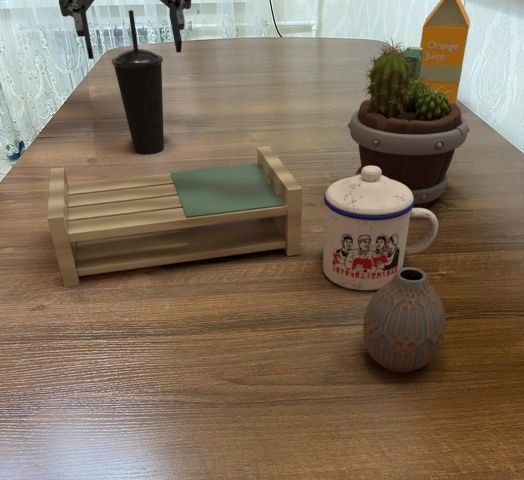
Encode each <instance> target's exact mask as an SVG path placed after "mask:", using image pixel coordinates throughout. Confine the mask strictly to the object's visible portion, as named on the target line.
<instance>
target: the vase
mask: <svg viewBox="0 0 524 480" xmlns="http://www.w3.org/2000/svg"><path fill="white" fill-rule="evenodd" d="M362 321H363V323H362V337H363V341H364V342H363V343H364V346H365V348H366V350H367V352H368V354H369V356H370V357H371V358H372V359H373V360H374V361H375V363H377V364H378V365H380V366H381V367H382V368H384V369H386V370H388V371H391V372H395V373H410V372H413V371H416V370H418V369H422V368H423V367H425V366H426V365H428V364H429V363H430V362H431V361H432V360H433V359H434V358H435V356H436V355H437V353H438V352H439V350H440V348H441V346H442V344H443V340H444V339H445V338H444V337H445V333H446V326H447V323H446V322H447V321H446V313H445V309H444V305H443V302H442V300H441V298H440V297H439V295H438V293H437V292H436V291H435V289H434V288H433V287H432V285H431V284H430V282H429V279H428V275H427V273H426V272H425V271H424V270H423V269H421V268H418V267H412V266H406V267H403V268H401V269H399V270H398V271H397V273H396V274H395V276H394V277H393V278H392V279H391V280H390V281H389V282H388V283H386V284H385V285H384V286H383V287H382V288H380V289H377V290H376V292H375V293H374V294H373V295H372V297H371V298H370V301H369V302H368V304H367V306H366V309H365V312H364V316H363V320H362Z"/></svg>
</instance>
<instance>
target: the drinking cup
mask: <svg viewBox="0 0 524 480" xmlns="http://www.w3.org/2000/svg"><path fill="white" fill-rule="evenodd" d="M128 18H129V19H128V20H129V26H130V33H131V41H132V47H133V49H127V50H125V51H122V52H121V53H119V54H118V55H117V56H115V57H113V58H112V59H111V60H110V61H111V65H112V66H113V68H114V71H115V75H116V76H115V77H116V79H117V84H118V87H119V92H120V96H121V100H122V103H123V109H124V112H125V113H124V114H125V117H126V121H127V126H128V129H129V133H130V138H131V142H132V146H133V151H134V152H135V153H137V154H140V155H141V154H142V155H152V154H158V153H161V152H162V151H163V150H164V149H165V138H164V137H165V136H164V135H165V133H164V132H165V131H164V105H163V104H164V102H163V68H162V63H163V62H164V57H163V56H162V55H160V54H158V53H156V52H153V51H152V50H149V49H143V48H139V45H138V38H137V30H136V22H135V13H134V10H132V9H130V10H128Z"/></svg>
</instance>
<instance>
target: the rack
mask: <svg viewBox="0 0 524 480" xmlns="http://www.w3.org/2000/svg"><path fill="white" fill-rule="evenodd" d="M67 178H68V177H67V173H66V168H65V167H56V168H50V169H49V184H48V185H49V187H48V202H47V216H46V217H47V218H46V219H47V223H48V228H49V231H50V235H51V241H52V244H53V247H54V248H53V249H54V252H55V256H56V259H57V264H58V267H59V270H60V276H61V279H62V282H63V287H64V288H69V287H75V286H80V277H82V276H89V275H98V274H104V273H105V274H106V273H112V272H113V273H114V272H120V271H128V270H134V269H140V268H141V269H142V268H149V267H156V266H163V265H170V264H177V263H178V264H179V263H185V262H192V261H193V262H194V261H200V260H208V259H214V258H221V257H229V256H236V255H243V254H250V253H258V252H265V251H273V250H280V249H283V251H284V253H285V254H286V256H287V257H291V256H297V255H298V256H299V255H301V253H302V215H303V214H302V213H303V208H302V207H303V188H302V186H301V185H300V184H299V183H298V181H297V180H296V178H294V176H293V175H292V173H291V172H290V171H289V170H288V168H287V167H286V166H285V165H284V163H283V162H282V161H281V159H280V158H279V156H277V154H276V153H275V152H274V150H273V149H272V148H271V147H270V146H269V145H268V146H259V147H258V146H257V147H256V162H253V163H244V164H235V165H226V166H217V167H207V168H199V169H198V168H197V169H189V170H180V171H172V172H171V171H170V173H161V174H153V175H143V176H134V177H133V176H132V177H124V178H123V177H122V178H114V179H106V180H97V181H89V182H79V183H69V182H68V179H67Z"/></svg>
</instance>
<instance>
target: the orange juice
mask: <svg viewBox="0 0 524 480" xmlns="http://www.w3.org/2000/svg"><path fill="white" fill-rule="evenodd" d="M470 25H471V19H470V17H469V15H468V13H467V10H466V9H465V7H464V4H463V2H462V0H439V1H438V3H437V4H436V5H435V7H434V8H433V9H432V11H431V12H430V13H429V14H428V16H427V17H426V18H425V20H424V22H423V25H422V30H421V31H422V32H421V37H420V43H419V48H423V53H422V61H421V70H420V77H421V78H422V77H423V76H424V75H426V76H424V77H423V78H426V79H423V80H421V82H423V83H425V84H426V85H427V86H429V87H430V91H431V88H432V92H433V91H434V90H435V89H436V88H437V89H439V88H440V87H441V88H440V89H439V90H437V92H438V93H444V92H445V93H446V92H447V91H449V92H447V93H446V96H445V97H446V98H447V99H448V98H449V96H450V98H449V100H448V101H449V103H455V104H456V105H457V99H458V94H459V88H460V82H461V77H462V73H463V72H462V71H463V65H464V59H465V54H466V47H467V42H468V35H469V29H470V27H471V26H470ZM421 78H420V79H421ZM428 81H429V82H428ZM433 82H434V83H433ZM432 83H433V84H432ZM431 84H432V85H431ZM430 85H431V86H430ZM432 86H433V87H432ZM442 86H443V87H442ZM434 87H435V88H434Z"/></svg>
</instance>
